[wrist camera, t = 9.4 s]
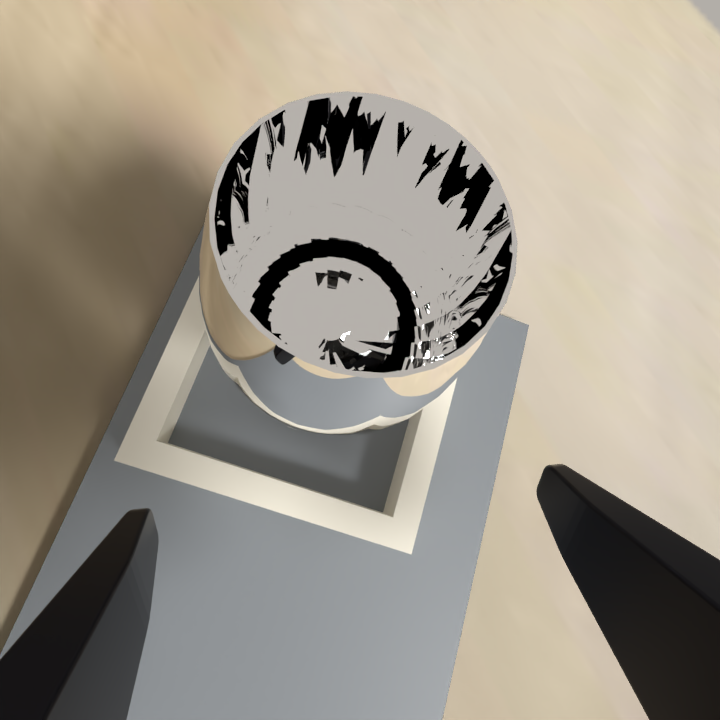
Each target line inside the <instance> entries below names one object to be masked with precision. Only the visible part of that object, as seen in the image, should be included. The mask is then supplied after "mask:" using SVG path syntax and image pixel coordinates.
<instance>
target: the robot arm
mask: <svg viewBox="0 0 720 720" xmlns="http://www.w3.org/2000/svg"><path fill="white" fill-rule="evenodd" d="M537 498H538V501H539V503H540V505H541V508H542V510H543V513H544V515H545V517H546V520H547V522H548V525H549V527H550V529H551V532H552V534H553V537H554V539H555V541H556V544H557V546H558V548H559V551H560V553H561V555H562V557H563V559H564V561H565V563H566V565H567V567H568V569H569V571H570V573H571V575H572V576H573V578H574V580H575V582H576V584H577V586H578V588H579V589H580V591H581V593H582V595H583V597H584V599H585V601H586V603H587V604H588V606H589V608H590V610H591V612H592V614H593V616H594V617H595V619H596V621H597V623H598V625H599V627H600V629H601V631H602V632H603V634H604V636H605V638H606V640H607V642H608V644H609V645H610V647H611V649H612V651H613V653H614V655H615V657H616V658H617V660H618V662H619V664H620V666H621V668H622V670H623V672H624V673H625V675H626V677H627V679H628V681H629V683H630V685H631V686H632V688H633V690H634V692H635V694H636V696H637V698H638V700H639V701H640V703H641V705H642V707H643V709H644V711H645V713H646V714H647V716H648V718H649V720H720V560H719V559H717V558H716V557H714V556H712V555H711V554H709V553H708V552H706V551H704V550H703V549H701V548H699V547H698V546H696V545H695V544H693V543H691V542H690V541H688V540H686V539H685V538H683V537H681V536H680V535H678V534H677V533H675V532H673V531H672V530H670V529H668V528H667V527H665V526H664V525H662V524H660V523H659V522H657V521H655V520H654V519H652V518H650V517H649V516H647V515H646V514H644V513H642V512H641V511H639V510H637V509H636V508H634V507H633V506H631V505H629V504H628V503H626V502H624V501H623V500H621V499H619V498H618V497H616V496H615V495H613V494H611V493H610V492H608V491H606V490H605V489H603V488H602V487H600V486H598V485H597V484H595V483H593V482H592V481H590V480H588V479H587V478H585V477H584V476H582V475H580V474H579V473H577V472H575V471H574V470H572V469H571V468H569V467H567V466H565V465H563V464H555V465H548V466H546V467H545V468H544V470H543V473H542V476H541V478H540V481H539V484H538V487H537ZM158 544H159V536H158V531H157V527H156V524H155V520H154V516H153V513H152V511H151V509H149V508H141V509H132V510H129V511H128V512H126V514H125V515H124V516H123V517H122V518H121V519H120V520H119V522H118V523H117V524H116V525H115V526H114V527H113V529H112V530H111V531H110V532H109V533H108V534H107V536H106V537H105V538H104V539H103V540H102V541H101V543H100V544H99V545H98V546H97V547H96V548H95V550H94V551H93V552H92V553H91V554H90V555H89V557H88V558H87V559H86V560H85V561H84V562H83V563H82V565H81V566H80V567H79V568H78V569H77V570H76V572H75V573H74V574H73V575H72V576H71V577H70V579H69V580H68V581H67V582H66V583H65V584H64V586H63V587H62V588H61V589H60V590H59V591H58V593H57V594H56V595H55V596H54V597H53V598H52V600H51V601H50V602H49V603H48V604H47V605H46V607H45V608H44V609H43V610H42V611H41V612H40V614H39V615H38V616H37V617H36V618H35V619H34V620H33V622H32V623H31V624H30V625H29V626H28V627H27V629H26V630H25V631H24V632H23V633H22V634H21V636H20V637H19V638H18V639H17V640H16V641H15V643H14V644H13V645H12V646H11V647H10V648H9V650H8V651H7V652H6V653H5V654H4V655H3V657H2V658H1V659H0V720H127V716H128V711H129V707H130V703H131V698H132V694H133V690H134V686H135V681H136V677H137V673H138V668H139V664H140V660H141V656H142V651H143V647H144V643H145V638H146V634H147V629H148V624H149V619H150V612H151V604H152V596H153V587H154V579H155V570H156V562H157V553H158Z"/></svg>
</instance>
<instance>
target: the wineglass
mask: <svg viewBox="0 0 720 720" xmlns="http://www.w3.org/2000/svg"><path fill="white" fill-rule="evenodd" d="M516 257H517V237H516V232H515V226H514V221H513V215H512V210H511V208H510V205H509V203H508V201H507V198H506V196H505V194H504V191H503V189H502V187H501V184H500V182H499V180H498V178H497V176H496V175H495V173H494V172H493V170H492V168H491V167H490V165H489V164H488V163H487V162H486V160H485V159H484V158H483V156H482V155H481V154H480V153H479V152H478V151H477V149H476V148H475V147H474V146H473V145H472V144H471V143H470V142H469V141H468V140H467V139H466V138H465V137H463V136H462V135H461V134H460V133H458V132H457V131H456V130H455V129H453V128H452V127H451V126H450V125H449V124H447V123H445V122H444V121H442V120H440V119H439V118H437V117H435V116H434V115H432V114H431V113H429V112H427V111H425V110H422V109H420V108H418V107H416V106H413V105H411V104H409V103H406V102H404V101H400V100H397V99H393V98H389V97H385V96H381V95H378V94H369V93H358V92H337V93H326V94H316V95H313V96H310V97H306V98H303V99H299V100H296V101H293V102H289V103H287V104H285V105H283V106H282V107H280V108H278V109H276V110H274V111H273V112H271V113H269V114H267V115H266V116H264V117H262V118H260V119H259V120H258V121H257V122H256V123H255V124H254V125H253V126H252V127H250V128H249V129H248V130H247V131H246V132H245V133H244V134H243V135H242V136H241V137H240V138H239V139H238V140H237V141H236V142H235V143H234V144H233V146H232V148H231V150H230V151H229V153H228V155H227V157H226V158H225V160H224V162H223V163H222V165H221V167H220V169H219V170H218V172H217V176H216V180H215V183H214V187H213V191H212V194H211V198H210V201H209V205H208V209H207V212H206V216H205V223H204V229H203V236H202V243H201V249H200V259H199V296H200V305H201V313H202V319H203V322H204V325H205V329H206V332H207V335H208V338H209V342H210V345H211V348H212V350H213V352H214V354H215V356H216V358H217V360H218V362H219V364H220V365H221V367H222V369H223V371H224V373H225V375H226V376H227V378H228V379H229V380H230V382H231V383H232V385H233V386H234V387H235V388H236V389H237V391H238V392H239V393H240V394H241V395H242V396H243V397H244V398H245V399H246V400H247V401H248V402H249V403H251V404H252V405H253V406H254V407H255V408H257V409H258V410H259V411H261V412H262V413H264V414H265V415H267V416H268V417H270V418H272V419H273V420H275V421H277V422H279V423H281V424H283V425H285V426H286V427H288V428H290V429H294V430H297V431H300V432H306V433H310V434H315V435H321V436H330V437H348V436H359V435H365V434H369V433H373V432H376V431H379V430H382V429H386V428H389V427H392V426H394V425H396V424H398V423H400V422H402V421H405V420H407V419H408V418H410V417H411V416H413V415H414V414H416V413H417V412H419V411H420V410H422V409H423V408H425V407H426V406H428V405H429V404H431V403H432V402H433V401H435V400H436V399H437V398H438V397H439V396H440V395H441V394H442V393H443V392H444V391H445V390H446V389H447V388H448V387H449V386H450V385H451V384H452V383H453V382H454V381H455V379H456V378H457V377H458V376H459V375H460V374H461V373H462V372H463V371H464V370H465V369H466V367H467V366H468V364H469V363H470V361H471V360H472V359H473V357H474V356H475V354H476V353H477V352H478V350H479V349H480V347H481V346H482V345H483V343H484V342H485V340H486V339H487V337H488V335H489V333H490V331H491V329H492V327H493V325H494V323H495V321H496V320H497V318H498V316H499V314H500V312H501V310H502V309H503V307H504V305H505V304H506V302H507V299H508V295H509V292H510V289H511V286H512V283H513V280H514V276H515V273H516Z"/></svg>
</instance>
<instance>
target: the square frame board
mask: <svg viewBox="0 0 720 720" xmlns="http://www.w3.org/2000/svg"><path fill="white" fill-rule="evenodd" d="M203 229H204V225H203V227H202V229H201V231H200V234H199V236H198V238H197V240H196V242H195V244H194V246H193V248H192V250H191V253H190V255H189V257H188V259H187V261H186V263H185V265H184V267H183V269H182V272H181V274H180V276H179V278H178V280H177V282H176V284H175V286H174V288H173V291H172V293H171V295H170V297H169V299H168V301H167V303H166V305H165V307H164V310H163V312H162V314H161V316H160V318H159V320H158V322H157V324H156V326H155V329H154V331H153V333H152V335H151V337H150V339H149V341H148V343H147V346H146V348H145V350H144V352H143V354H142V356H141V358H140V360H139V362H138V365H137V367H136V369H135V371H134V373H133V375H132V377H131V379H130V381H129V384H128V386H127V388H126V390H125V392H124V394H123V396H122V398H121V400H120V403H119V405H118V407H117V409H116V411H115V413H114V415H113V417H112V419H111V422H110V424H109V426H108V428H107V430H106V432H105V434H104V436H103V439H102V441H101V443H100V445H99V447H98V449H97V451H96V453H95V455H94V458H93V460H92V462H91V464H90V466H89V468H88V470H87V472H86V474H85V477H84V479H83V481H82V483H81V485H80V487H79V489H78V491H77V493H76V496H75V498H74V500H73V502H72V504H71V506H70V508H69V510H68V512H67V515H66V517H65V519H64V521H63V523H62V525H61V527H60V529H59V531H58V534H57V536H56V538H55V540H54V542H53V544H52V546H51V548H50V551H49V553H48V555H47V557H46V559H45V561H44V563H43V565H42V567H41V570H40V572H39V574H38V576H37V578H36V580H35V582H34V584H33V586H32V589H31V591H30V593H29V595H28V597H27V599H26V601H25V603H24V605H23V608H22V610H21V612H20V614H19V616H18V618H17V620H16V622H15V624H14V627H13V629H12V631H11V633H10V635H9V637H8V639H7V641H6V644H5V646H4V648H3V650H2V652H1V654H0V659H1V658H2V657H3V655H4V654H5V653H6V652H7V651H8V650H9V648H10V647H11V646H12V645H13V644H14V643H15V641H16V640H17V639H18V638H19V637H20V636H21V634H22V633H23V632H24V631H25V630H26V629H27V627H28V626H29V625H30V624H31V623H32V622H33V620H34V619H35V618H36V617H37V616H38V615H39V614H40V612H41V611H42V610H43V609H44V608H45V607H46V605H47V604H48V603H49V602H50V601H51V600H52V598H53V597H54V596H55V595H56V594H57V593H58V591H59V590H60V589H61V588H62V587H63V586H64V584H65V583H66V582H67V581H68V580H69V579H70V577H71V576H72V575H73V574H74V573H75V572H76V570H77V569H78V568H79V567H80V566H81V565H82V563H83V562H84V561H85V560H86V559H87V558H88V557H89V555H90V554H91V553H92V552H93V551H94V550H95V548H96V547H97V546H98V545H99V544H100V543H101V541H102V540H103V539H104V538H105V537H106V536H107V534H108V533H109V532H110V531H111V530H112V529H113V527H114V526H115V525H116V524H117V523H118V522H119V520H120V519H121V518H122V517H123V516H124V515H125V514H126V512H128V511H129V510H132V509H141V508H149V509H151V511H152V513H153V516H154V520H155V524H156V527H157V531H158V536H159V544H158V553H157V562H156V570H155V579H154V587H153V596H152V604H151V612H150V619H149V624H148V629H147V634H146V638H145V643H144V647H143V651H142V656H141V660H140V664H139V668H138V673H137V677H136V681H135V686H134V690H133V694H132V698H131V703H130V707H129V711H128V716H127V720H442V718H443V714H444V709H445V705H446V700H447V696H448V691H449V687H450V682H451V677H452V673H453V668H454V664H455V659H456V655H457V650H458V646H459V641H460V636H461V632H462V627H463V623H464V618H465V614H466V609H467V605H468V600H469V596H470V591H471V586H472V582H473V577H474V573H475V568H476V564H477V559H478V555H479V550H480V545H481V541H482V536H483V532H484V527H485V523H486V518H487V514H488V509H489V505H490V500H491V495H492V491H493V486H494V482H495V477H496V473H497V468H498V464H499V459H500V454H501V450H502V445H503V441H504V436H505V432H506V427H507V423H508V418H509V414H510V409H511V404H512V400H513V395H514V391H515V386H516V382H517V377H518V373H519V368H520V363H521V359H522V354H523V350H524V345H525V341H526V336H527V332H528V327H529V325H527V324H524V323H522V322H519V321H516V320H514V319H511V318H508V317H506V316H503V315H501V314H499V316H498V318H497V320H496V321H495V323H494V325H493V327H492V329H491V331H490V333H489V335H488V337H487V339H486V340H485V342H484V343H483V345H482V346H481V347H480V349H479V350H478V352H477V353H476V354H475V356H474V357H473V359H472V360H471V361H470V363H469V364H468V366H467V367H466V369H465V370H464V371H463V372H462V373H461V374H460V375H459V376H458V377H457V378H456V379H455V381H454V382H453V383H452V384H451V385H450V386H449V387H448V388H447V389H446V390H445V391H444V392H443V393H442V394H441V395H440V396H439V397H438V398H437V399H436V400H435V401H433V402H432V403H431V404H429V405H428V406H426V407H425V408H423V409H422V410H420V411H419V412H417V413H416V414H414V415H413V416H411V417H410V418H408V419H407V420H405V421H402V422H400V423H398V424H396V425H394V426H392V427H389V428H386V429H382V430H379V431H376V432H373V433H369V434H365V435H359V436H348V437H330V436H321V435H315V434H310V433H306V432H300V431H297V430H294V429H290V428H288V427H286V426H285V425H283V424H281V423H279V422H277V421H275V420H273V419H272V418H270V417H268V416H267V415H265V414H264V413H262V412H261V411H259V410H258V409H257V408H255V407H254V406H253V405H252V404H251V403H249V402H248V401H247V400H246V399H245V398H244V397H243V396H242V395H241V394H240V393H239V392H238V391H237V389H236V388H235V387H234V386H233V385H232V383H231V382H230V380H229V379H228V378H227V376H226V375H225V373H224V371H223V369H222V367H221V365H220V364H219V362H218V360H217V358H216V356H215V354H214V352H213V350H212V348H211V345H210V342H209V338H208V335H207V332H206V329H205V325H204V322H203V319H202V313H201V305H200V296H199V259H200V249H201V243H202V236H203Z"/></svg>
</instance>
